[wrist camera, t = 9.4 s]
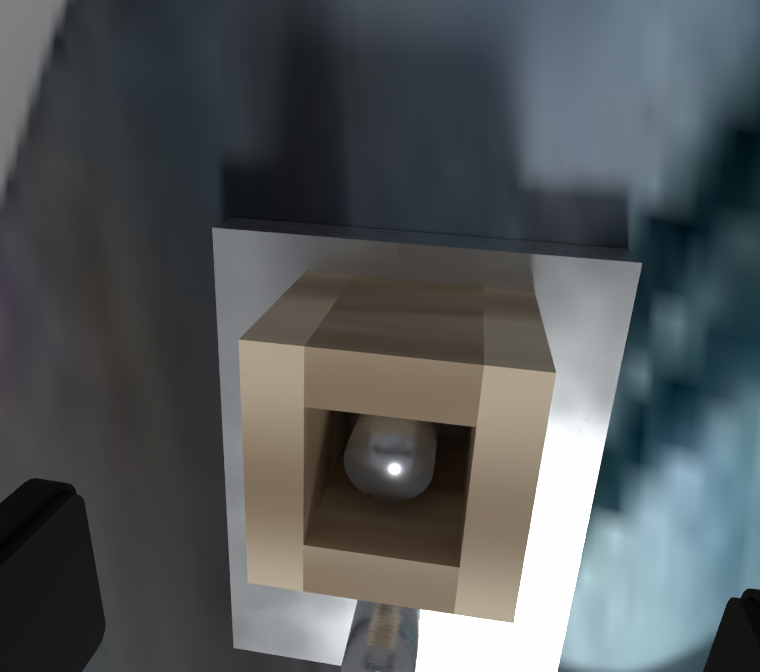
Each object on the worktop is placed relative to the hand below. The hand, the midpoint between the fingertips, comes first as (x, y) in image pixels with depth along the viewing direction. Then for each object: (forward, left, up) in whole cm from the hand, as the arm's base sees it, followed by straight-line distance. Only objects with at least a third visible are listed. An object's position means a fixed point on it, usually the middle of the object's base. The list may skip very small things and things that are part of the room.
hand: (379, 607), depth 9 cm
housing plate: (+4, -1, -10) cm, 11 cm away
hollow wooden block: (+1, 0, -9) cm, 9 cm away
